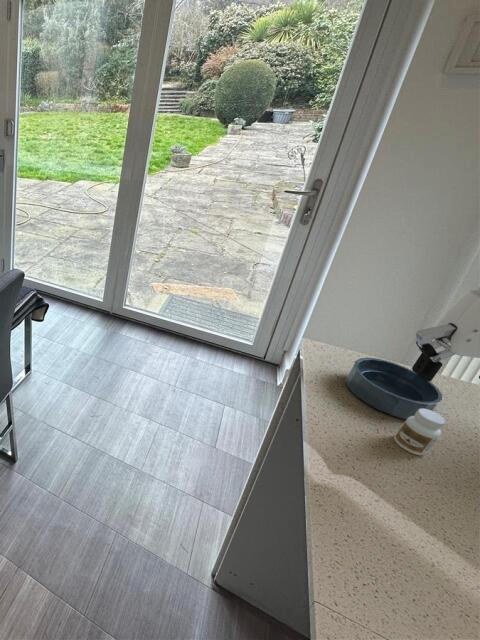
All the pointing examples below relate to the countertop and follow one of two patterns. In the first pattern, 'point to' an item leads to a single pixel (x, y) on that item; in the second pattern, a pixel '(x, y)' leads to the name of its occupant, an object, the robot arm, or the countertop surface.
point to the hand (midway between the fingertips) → (454, 380)
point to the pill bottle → (420, 432)
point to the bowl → (392, 387)
